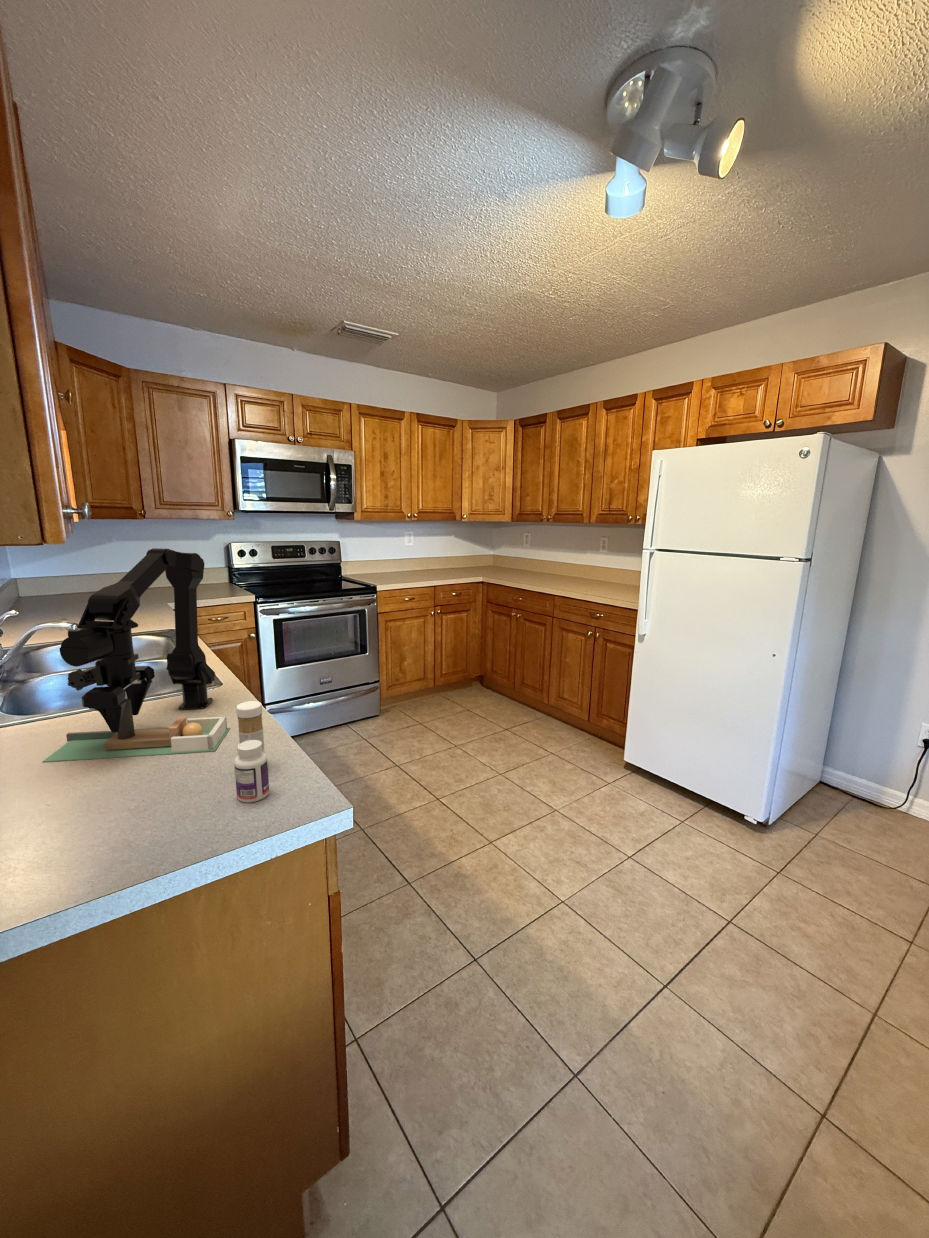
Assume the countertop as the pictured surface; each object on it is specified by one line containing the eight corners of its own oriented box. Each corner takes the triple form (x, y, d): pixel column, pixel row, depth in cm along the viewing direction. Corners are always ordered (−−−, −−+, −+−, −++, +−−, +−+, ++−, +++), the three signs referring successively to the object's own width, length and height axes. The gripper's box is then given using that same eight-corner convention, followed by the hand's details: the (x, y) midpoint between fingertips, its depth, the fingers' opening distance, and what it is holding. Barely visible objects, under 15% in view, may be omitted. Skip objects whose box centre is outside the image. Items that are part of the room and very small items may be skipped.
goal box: (189, 730, 115) (188, 718, 114) (227, 728, 116) (226, 716, 116) (171, 752, 104) (170, 738, 104) (213, 749, 106) (212, 736, 105)
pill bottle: (259, 783, 93) (256, 735, 91) (275, 794, 90) (272, 743, 88) (231, 795, 89) (227, 745, 87) (246, 807, 86) (242, 754, 84)
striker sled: (118, 737, 110) (113, 696, 108) (187, 733, 112) (183, 693, 111) (104, 749, 104) (99, 706, 102) (177, 745, 107) (173, 703, 105)
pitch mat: (76, 736, 111) (75, 736, 111) (230, 728, 117) (229, 727, 117) (42, 762, 99) (42, 761, 99) (215, 751, 105) (215, 750, 105)
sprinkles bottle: (261, 761, 102) (257, 698, 99) (269, 769, 98) (265, 705, 96) (237, 767, 99) (233, 703, 96) (244, 776, 95) (240, 710, 93)
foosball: (208, 724, 112) (200, 739, 112) (190, 716, 111) (182, 731, 111) (202, 731, 108) (194, 746, 108) (184, 723, 107) (176, 739, 107)
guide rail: (69, 739, 109) (68, 732, 109) (185, 732, 114) (185, 726, 113) (67, 740, 108) (66, 734, 108) (184, 734, 113) (184, 727, 113)
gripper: (97, 642, 111) (105, 709, 114) (45, 667, 93) (56, 744, 96) (152, 641, 113) (158, 706, 116) (111, 664, 95) (121, 741, 98)
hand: (125, 723), depth 107 cm, fingers open, 9 cm apart
